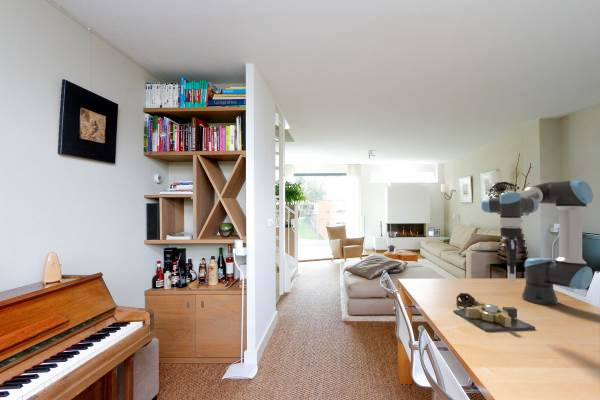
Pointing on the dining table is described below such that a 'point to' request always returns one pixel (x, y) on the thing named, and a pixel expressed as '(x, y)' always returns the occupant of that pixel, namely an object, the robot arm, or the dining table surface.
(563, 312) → the dining table surface
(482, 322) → the flange plate
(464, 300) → the pottery mug
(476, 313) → the ring nut
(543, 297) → the robot arm
